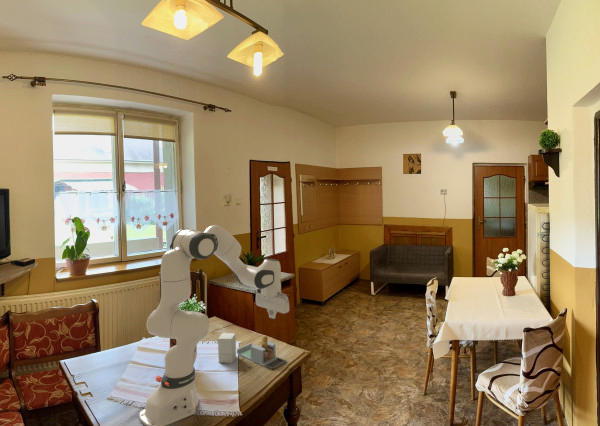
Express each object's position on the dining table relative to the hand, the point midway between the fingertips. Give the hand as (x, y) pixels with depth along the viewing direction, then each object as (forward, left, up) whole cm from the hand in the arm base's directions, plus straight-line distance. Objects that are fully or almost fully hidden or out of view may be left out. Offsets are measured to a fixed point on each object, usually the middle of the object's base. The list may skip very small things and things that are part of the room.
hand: (272, 318), depth 178 cm
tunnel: (0, +8, -23) cm, 25 cm away
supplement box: (-12, +21, -23) cm, 34 cm away
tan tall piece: (0, +6, -22) cm, 23 cm away
